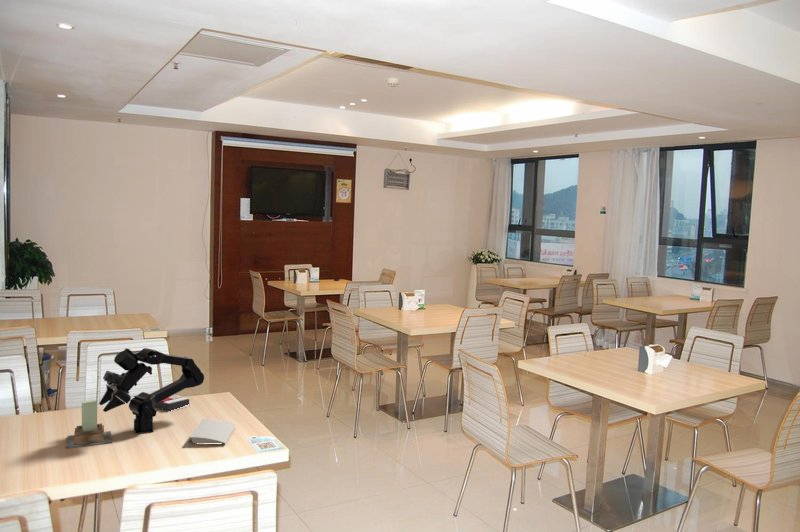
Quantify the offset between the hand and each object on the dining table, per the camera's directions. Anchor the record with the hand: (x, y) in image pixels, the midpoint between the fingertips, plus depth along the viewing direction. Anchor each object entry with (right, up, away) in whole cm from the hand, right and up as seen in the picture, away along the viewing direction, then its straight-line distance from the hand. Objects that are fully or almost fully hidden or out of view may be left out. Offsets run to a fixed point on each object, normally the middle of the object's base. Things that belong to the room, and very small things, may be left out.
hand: (101, 407), depth 233 cm
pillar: (-4, -8, -2) cm, 9 cm away
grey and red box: (+10, -10, +43) cm, 45 cm away
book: (+40, -14, +8) cm, 43 cm away
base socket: (-4, -12, -2) cm, 13 cm away
